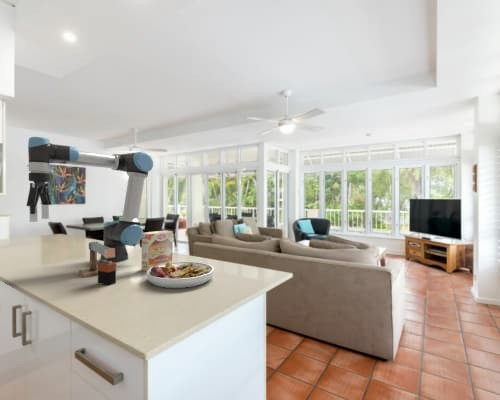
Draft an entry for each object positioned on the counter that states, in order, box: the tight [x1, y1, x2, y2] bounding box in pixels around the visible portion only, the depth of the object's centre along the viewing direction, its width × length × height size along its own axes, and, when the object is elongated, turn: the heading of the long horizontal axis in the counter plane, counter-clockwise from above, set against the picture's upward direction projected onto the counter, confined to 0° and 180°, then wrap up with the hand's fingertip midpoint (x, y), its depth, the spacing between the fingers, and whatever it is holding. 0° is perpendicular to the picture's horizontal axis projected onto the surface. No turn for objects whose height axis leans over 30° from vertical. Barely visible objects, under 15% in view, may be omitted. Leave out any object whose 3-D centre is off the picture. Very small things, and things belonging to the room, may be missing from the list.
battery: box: [97, 260, 117, 286], centre depth 122 cm, size 4×7×10 cm, turn 63°
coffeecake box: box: [140, 230, 174, 272], centre depth 148 cm, size 15×7×20 cm, turn 143°
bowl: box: [146, 261, 215, 289], centre depth 129 cm, size 30×30×8 cm
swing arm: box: [88, 241, 115, 258], centre depth 128 cm, size 4×26×4 cm, turn 45°
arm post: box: [78, 249, 98, 279], centre depth 136 cm, size 10×10×12 cm
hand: (39, 220), depth 123 cm, fingers open, 13 cm apart
